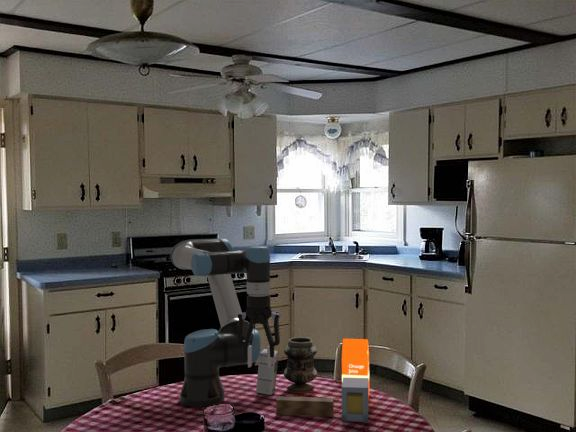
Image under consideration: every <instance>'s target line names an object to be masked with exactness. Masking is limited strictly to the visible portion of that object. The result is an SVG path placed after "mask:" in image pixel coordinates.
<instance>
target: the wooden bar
mask: <svg viewBox="0 0 576 432" xmlns="http://www.w3.org/2000/svg"><path fill="white" fill-rule="evenodd" d="M334 400H335V399H334V397H307V396H306V397H304V396H277V398H276V400H275V401H276V402H275V406H276V407H275V411H276V414H275V415H276V416H296V417H297V416H298V417H299V416H300V417H301V416H303V417H330V418H331V417H332V418H333V417H334V414H335V413H334V410H335V407H334V406H335V404H334V402H335V401H334Z"/></svg>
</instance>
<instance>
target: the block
mask: <svg viewBox="0 0 576 432" xmlns="http://www.w3.org/2000/svg"><path fill="white" fill-rule="evenodd" d="M347 413H363V393H360V392H348V393H347Z"/></svg>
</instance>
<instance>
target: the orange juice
mask: <svg viewBox="0 0 576 432" xmlns="http://www.w3.org/2000/svg"><path fill="white" fill-rule="evenodd" d="M341 348H342V351H341V383H342V382H343V378H368V398H369V397H370V350H369V348H370V347H369V340H368V339H364V338H343V339H342V347H341Z"/></svg>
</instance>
